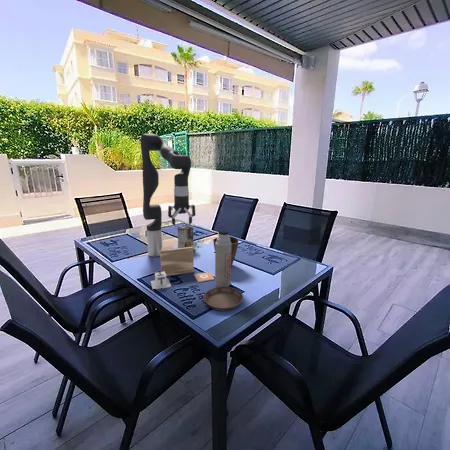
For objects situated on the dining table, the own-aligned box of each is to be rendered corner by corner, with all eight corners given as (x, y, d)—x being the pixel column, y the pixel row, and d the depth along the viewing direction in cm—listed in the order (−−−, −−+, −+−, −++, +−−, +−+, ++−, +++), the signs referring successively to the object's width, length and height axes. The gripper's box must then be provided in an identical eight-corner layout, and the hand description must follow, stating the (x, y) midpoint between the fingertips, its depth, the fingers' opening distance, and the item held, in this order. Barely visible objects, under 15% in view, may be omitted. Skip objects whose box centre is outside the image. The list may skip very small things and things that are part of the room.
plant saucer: (218, 318, 106) (218, 312, 105) (196, 299, 119) (196, 293, 119) (250, 305, 116) (251, 298, 115) (227, 288, 130) (227, 283, 129)
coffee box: (186, 247, 186) (186, 225, 182) (193, 248, 183) (193, 226, 179) (177, 250, 179) (177, 228, 175) (184, 252, 176) (184, 229, 171)
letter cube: (155, 281, 133) (154, 272, 132) (165, 280, 135) (164, 271, 134) (156, 286, 129) (156, 276, 127) (166, 284, 130) (166, 275, 129)
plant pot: (229, 272, 147) (230, 246, 142) (208, 266, 154) (208, 241, 150) (242, 264, 159) (243, 239, 155) (221, 258, 166) (221, 234, 162)
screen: (160, 272, 145) (159, 249, 141) (192, 268, 151) (191, 245, 148) (162, 276, 140) (160, 252, 137) (194, 271, 147) (194, 248, 143)
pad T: (150, 281, 134) (150, 280, 134) (168, 279, 138) (168, 278, 137) (152, 290, 126) (152, 288, 126) (171, 286, 130) (171, 285, 129)
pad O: (193, 275, 143) (193, 274, 143) (209, 272, 146) (209, 271, 146) (198, 282, 135) (198, 281, 135) (214, 279, 138) (214, 278, 138)
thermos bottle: (233, 284, 133) (235, 232, 126) (220, 288, 129) (221, 235, 121) (224, 278, 139) (225, 228, 132) (212, 282, 135) (212, 231, 128)
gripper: (193, 193, 141) (193, 221, 146) (166, 193, 136) (167, 223, 141) (196, 195, 135) (196, 225, 139) (168, 196, 130) (169, 227, 134)
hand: (182, 224), depth 140 cm, fingers open, 8 cm apart
